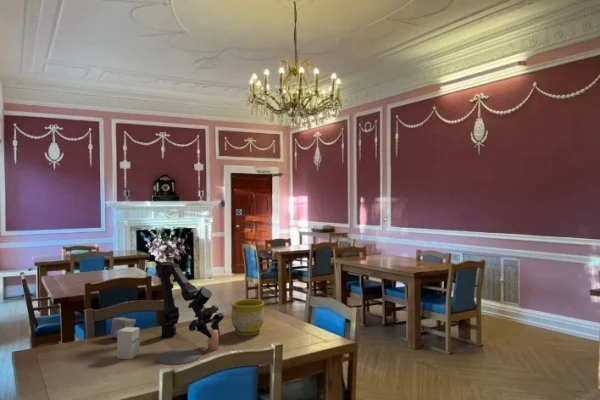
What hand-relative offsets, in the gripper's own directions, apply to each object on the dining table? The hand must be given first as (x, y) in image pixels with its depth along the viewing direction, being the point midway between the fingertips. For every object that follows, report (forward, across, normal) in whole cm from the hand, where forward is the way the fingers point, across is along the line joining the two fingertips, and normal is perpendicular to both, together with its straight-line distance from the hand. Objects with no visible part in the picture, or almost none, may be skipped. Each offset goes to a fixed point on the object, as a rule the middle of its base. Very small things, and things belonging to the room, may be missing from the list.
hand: (215, 336), depth 222 cm
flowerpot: (0, +30, +10) cm, 31 cm away
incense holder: (-32, -16, +42) cm, 56 cm away
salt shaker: (+4, 0, +6) cm, 7 cm away
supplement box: (-13, -30, +23) cm, 40 cm away
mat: (+1, -17, +9) cm, 19 cm away
